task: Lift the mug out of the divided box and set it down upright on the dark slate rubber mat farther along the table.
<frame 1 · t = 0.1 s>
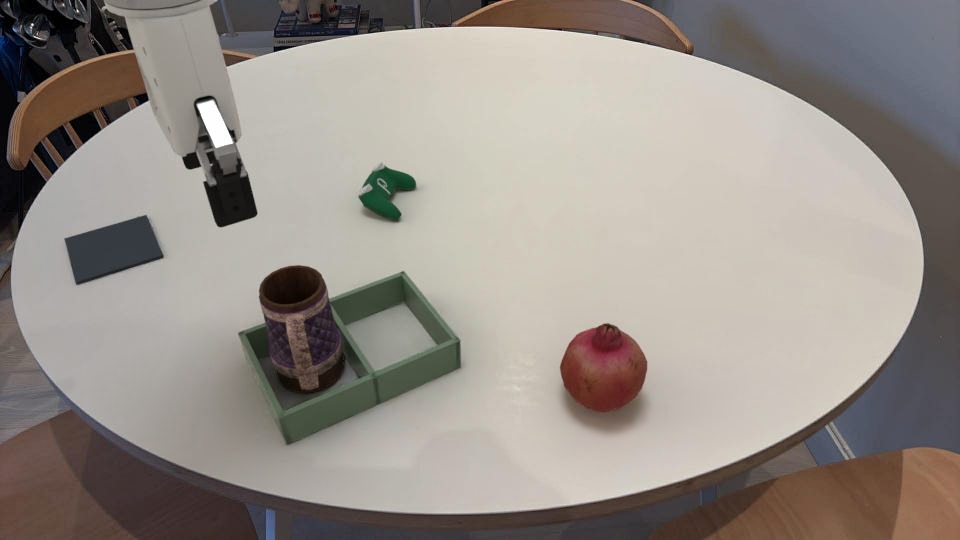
hand: (220, 190, 58), 22 cm above the table, tool pointing down, fingers open, 9 cm apart
mat: (114, 248, 88), on the table
mug: (312, 381, 71), resting in divided box
fruit: (598, 399, 70), on the table
divided box: (353, 363, 73), on the table
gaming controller: (388, 203, 96), on the table
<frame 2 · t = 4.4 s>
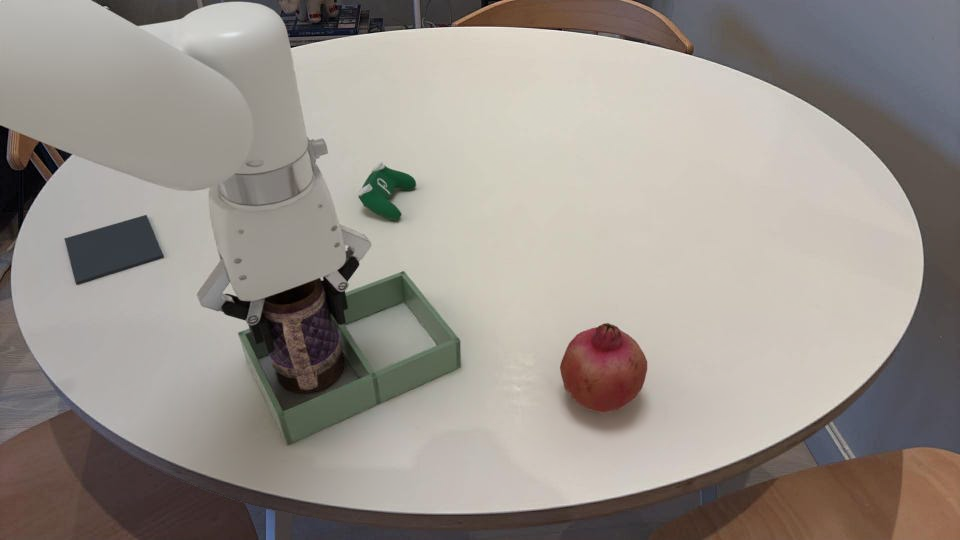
hand: (302, 328, 67), 7 cm above the table, tool pointing down, fingers closed on mug, 6 cm apart
mug: (312, 381, 71), resting in divided box, touching gripper
everything else where it was.
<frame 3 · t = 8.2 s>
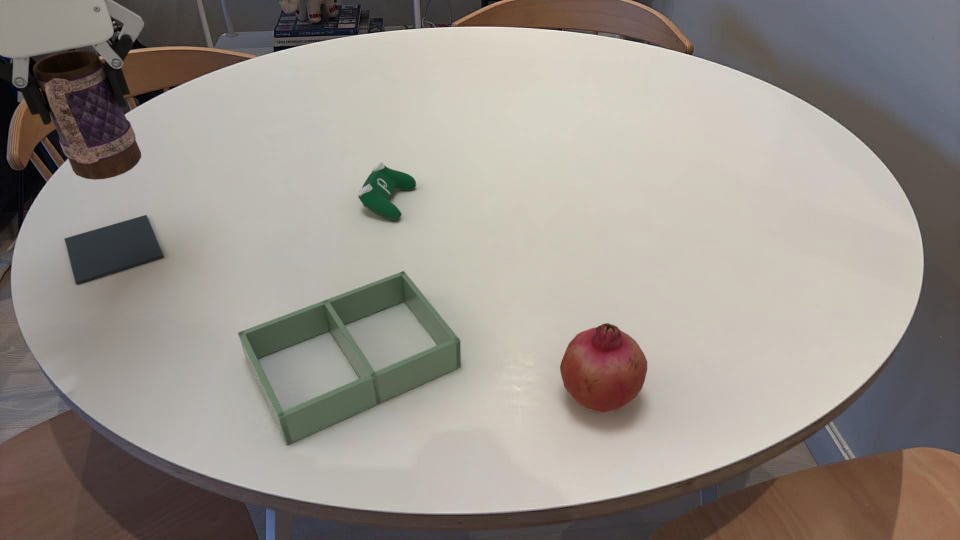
hand: (84, 109, 70), 22 cm above the table, tool pointing down, fingers closed on mug, 6 cm apart
mug: (106, 173, 75), point 14 cm above the table, touching gripper
everything else where it was.
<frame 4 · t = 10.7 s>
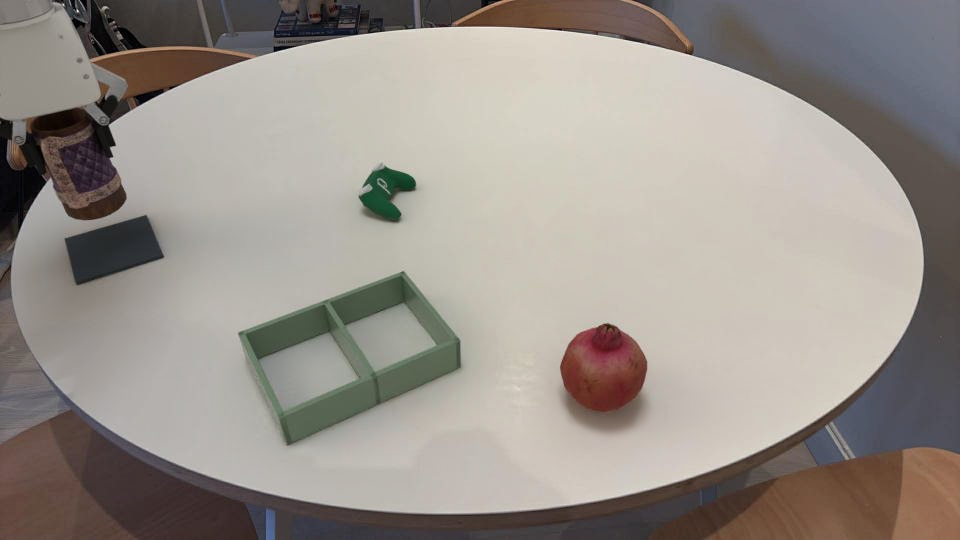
hand: (75, 159, 79), 13 cm above the table, tool pointing down, fingers closed on mug, 6 cm apart
mug: (95, 214, 84), point 6 cm above the table, touching gripper
everything else where it was.
when the fingers open (8 cm above the table, at t = 12.5 s): mug stays where it is, resting on mat.
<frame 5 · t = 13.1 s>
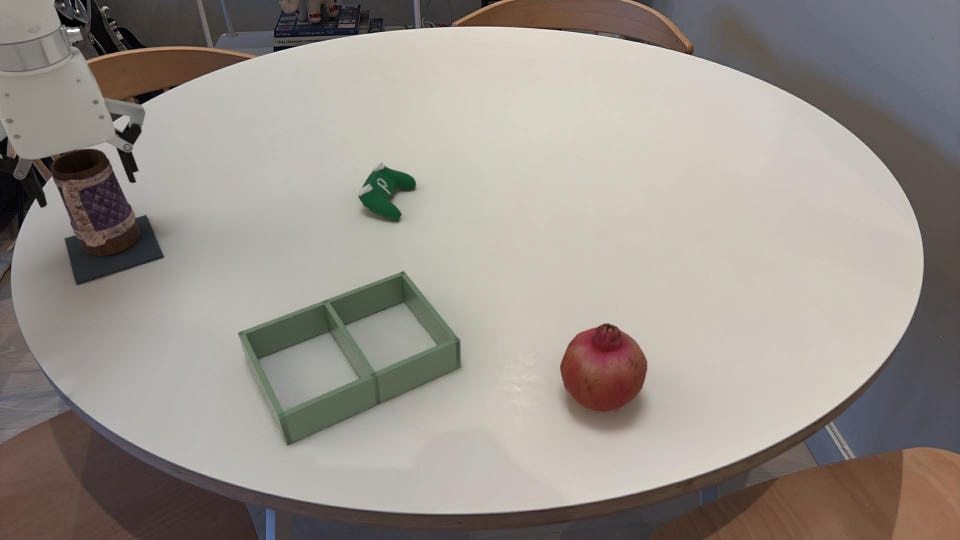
hand: (88, 189, 82), 9 cm above the table, tool pointing down, fingers open, 9 cm apart
mug: (110, 249, 87), resting on mat
everything else where it was.
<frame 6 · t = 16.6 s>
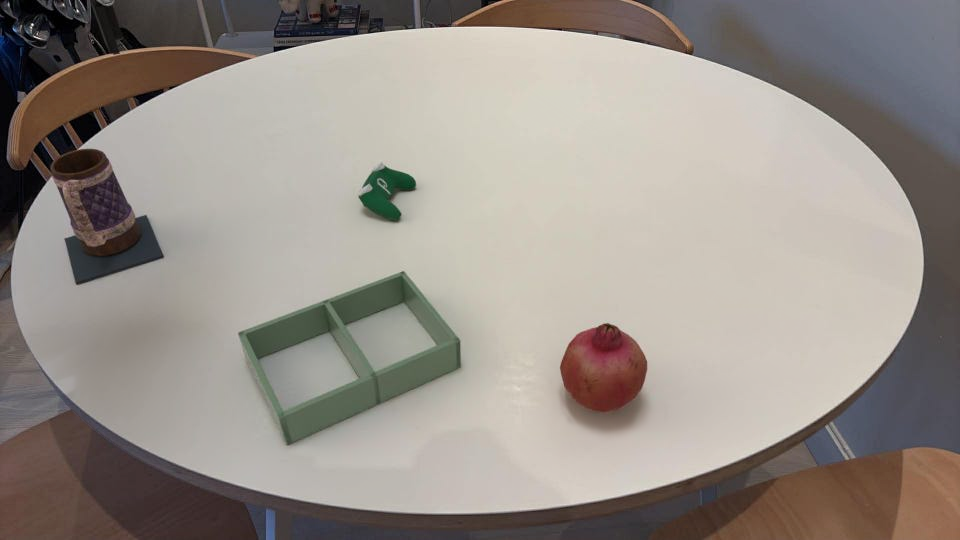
hand: (51, 61, 58), 30 cm above the table, tool pointing down, fingers open, 9 cm apart
nothing on the table moved.
at the end: mug inside the target area on the mat (0.4 cm from its centre), point 0.2 cm above the mat's base; mug tilted 0°; the gripper is holding nothing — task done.
